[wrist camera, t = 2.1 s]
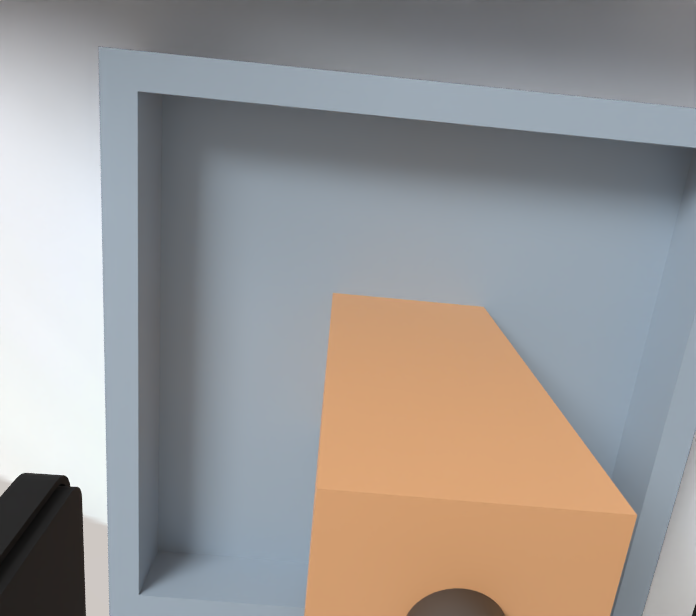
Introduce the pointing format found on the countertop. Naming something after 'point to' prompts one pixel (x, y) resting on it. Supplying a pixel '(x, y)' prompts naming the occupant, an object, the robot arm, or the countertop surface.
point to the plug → (452, 476)
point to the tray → (367, 294)
